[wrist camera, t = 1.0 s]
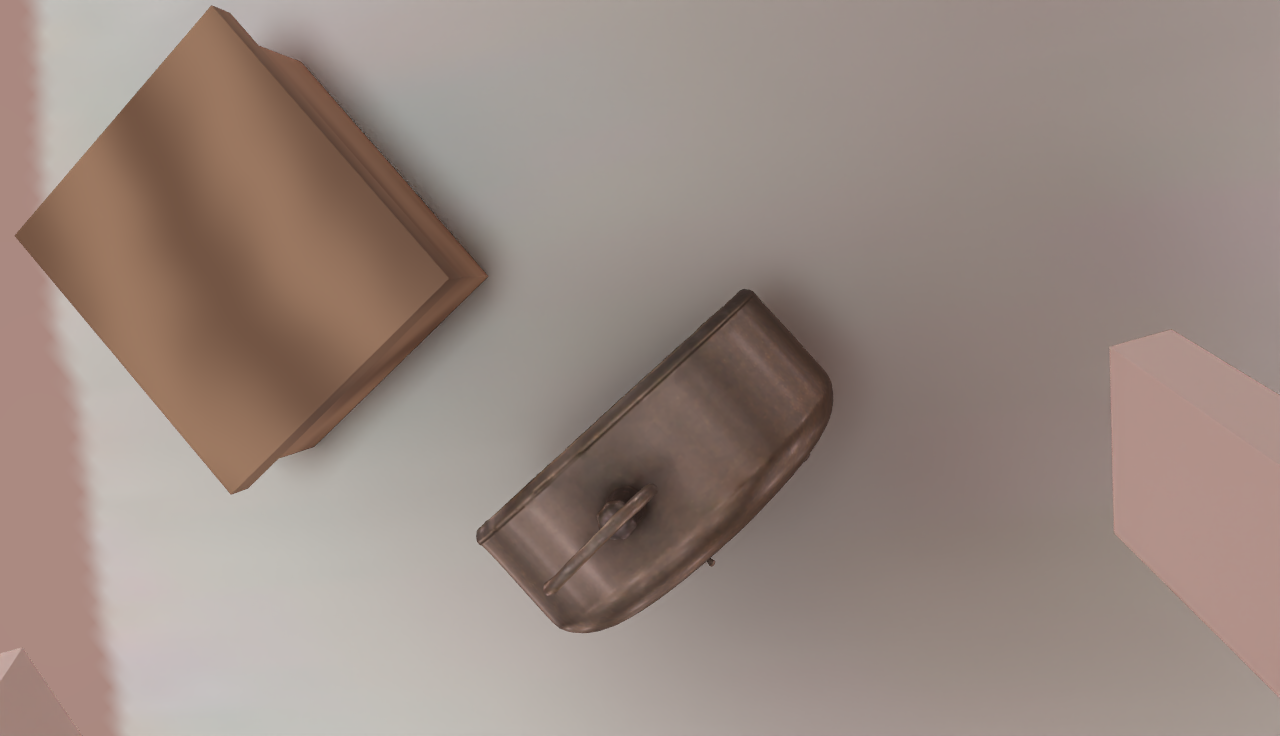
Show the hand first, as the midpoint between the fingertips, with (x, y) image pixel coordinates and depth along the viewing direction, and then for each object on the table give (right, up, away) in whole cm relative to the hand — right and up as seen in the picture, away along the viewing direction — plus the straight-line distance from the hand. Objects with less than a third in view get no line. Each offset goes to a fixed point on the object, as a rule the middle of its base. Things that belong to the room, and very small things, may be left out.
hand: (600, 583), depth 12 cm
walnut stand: (-12, +7, +26) cm, 30 cm away
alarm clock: (+3, 0, +24) cm, 24 cm away
